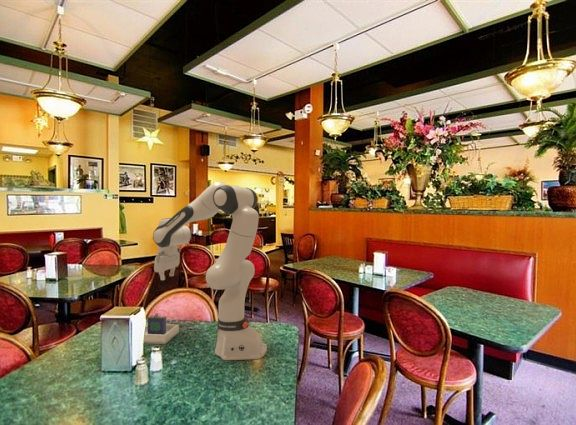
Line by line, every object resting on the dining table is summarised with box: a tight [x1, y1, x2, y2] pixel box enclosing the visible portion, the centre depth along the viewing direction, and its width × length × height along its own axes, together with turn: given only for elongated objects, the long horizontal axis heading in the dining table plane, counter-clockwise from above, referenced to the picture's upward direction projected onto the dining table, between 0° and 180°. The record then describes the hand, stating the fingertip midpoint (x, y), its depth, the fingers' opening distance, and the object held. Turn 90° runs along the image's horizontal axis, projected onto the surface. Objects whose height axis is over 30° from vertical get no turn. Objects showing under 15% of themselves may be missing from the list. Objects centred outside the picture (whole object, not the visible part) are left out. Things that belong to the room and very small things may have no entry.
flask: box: [147, 312, 167, 335], centre depth 152 cm, size 9×3×11 cm, turn 83°
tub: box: [143, 323, 180, 345], centre depth 152 cm, size 16×14×4 cm
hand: (167, 278), depth 158 cm, fingers open, 8 cm apart
